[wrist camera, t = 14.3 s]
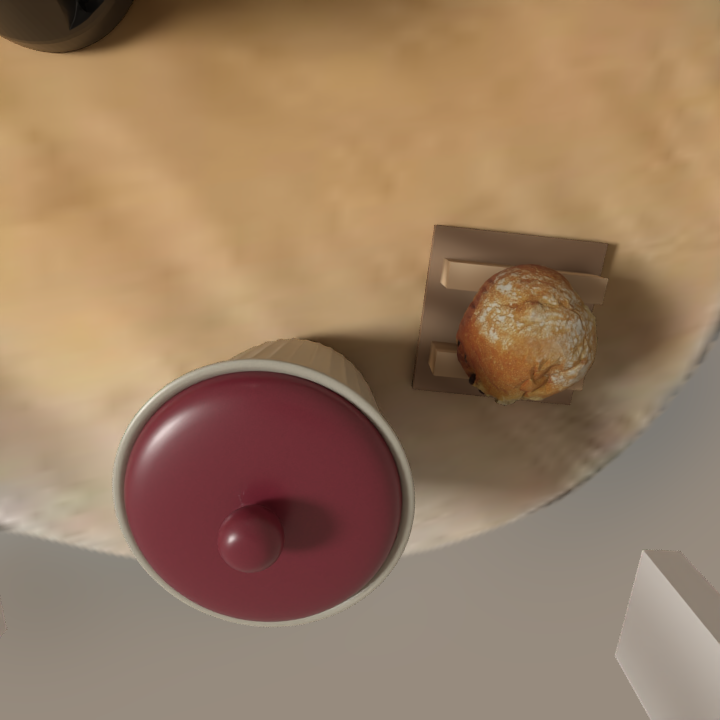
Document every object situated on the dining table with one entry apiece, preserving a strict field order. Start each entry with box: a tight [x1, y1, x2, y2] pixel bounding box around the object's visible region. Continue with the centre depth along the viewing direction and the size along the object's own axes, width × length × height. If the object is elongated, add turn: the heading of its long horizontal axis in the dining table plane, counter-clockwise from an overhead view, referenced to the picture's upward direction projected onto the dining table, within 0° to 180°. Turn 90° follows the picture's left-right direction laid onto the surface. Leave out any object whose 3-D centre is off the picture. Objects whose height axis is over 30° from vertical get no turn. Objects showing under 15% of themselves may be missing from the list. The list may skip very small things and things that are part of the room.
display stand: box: [412, 225, 608, 405], centre depth 41 cm, size 14×14×4 cm
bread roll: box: [456, 264, 597, 405], centre depth 37 cm, size 10×10×8 cm
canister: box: [112, 338, 415, 627], centre depth 35 cm, size 18×18×21 cm
